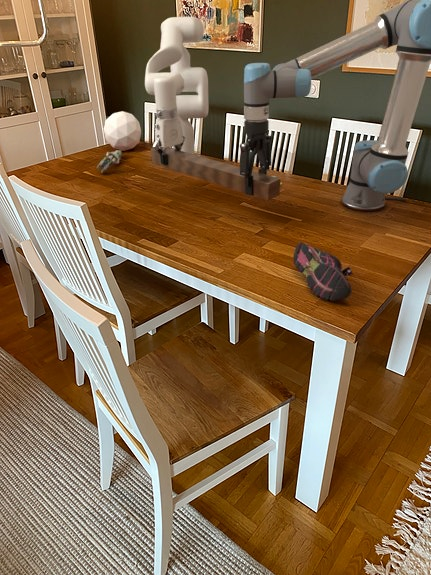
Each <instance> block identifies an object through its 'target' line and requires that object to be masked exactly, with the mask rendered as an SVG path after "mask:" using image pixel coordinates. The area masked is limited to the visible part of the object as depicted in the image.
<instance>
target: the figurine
mask: <svg viewBox="0 0 431 575" xmlns="http://www.w3.org/2000/svg"><path fill="white" fill-rule="evenodd" d="M122 153H123V151H122V150H118V149H115V151H111V152H110V151H107V152H106V153H105V155H106V156H104V157H103V158H102V159H101V161H100V162H99V163H98V165H97V167H96V169H97V170H100V173H101V174H104V173H105V172H106V171H107V170H108V169H109V168H110V167H111V166H112V165H119V164H120V160H121V158H122V157H123V154H122Z"/></svg>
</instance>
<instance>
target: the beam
mask: <svg viewBox="0 0 431 575" xmlns="http://www.w3.org/2000/svg"><path fill="white" fill-rule="evenodd" d="M162 151H163V148H162ZM165 155H167V165H163V164H161V160H160V154H159V153H158V152H157V151H156V150H155V149H154V148H153V147H152V148H150V158H151V164H153V165H156V166H159V167H162V168H165V169H167V170H172V171H175V172H178V173H180V174H183V175H184V174H185V175H186V176H190V177H192V178H193V177H194V178H197V179H200V180H203V181H206V182H209V183H212V184H215V185H219V186H221V187H225V188H228V189H231V190H234V191H238V192H241V193H243V194H245V176H243V175H240V166H237V165H233V164H229V163H226V162H223V161H219V160H215V159H211V158H208V157H205V156H201V155H200V156H198V155H199V154H195V155H194V154H191V153H187V152H183V151H180V150H176V149H174V147H169V148H167V149H166V154H165ZM251 176H253V196H252V197H256V198H259V199H262V200H264V201H270V200H272V199H274V198H276V197H278V196H280V192H281V185H280V182H281V180H282V179H281V178H279V177H277V176H275V177H273V176H274V175H269V174H267V175H265V174H262V173H258V172H257V171H255V170H252V175H251ZM276 177H277V178H276Z"/></svg>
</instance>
